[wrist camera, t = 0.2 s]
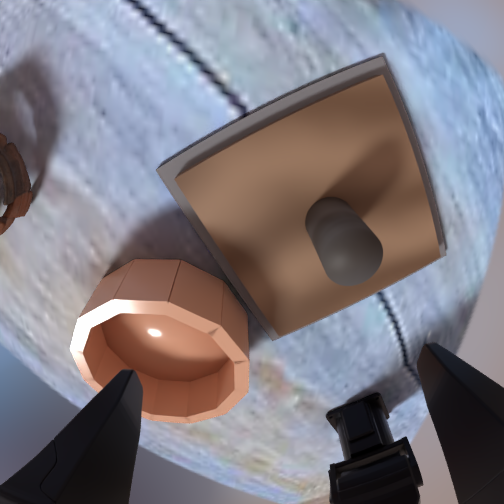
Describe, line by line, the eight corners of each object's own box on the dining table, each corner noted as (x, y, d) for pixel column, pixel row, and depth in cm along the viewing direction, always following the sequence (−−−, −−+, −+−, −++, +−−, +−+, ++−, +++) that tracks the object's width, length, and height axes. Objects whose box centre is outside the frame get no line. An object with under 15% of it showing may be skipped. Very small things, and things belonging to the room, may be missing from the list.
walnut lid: (434, 250, 23) (475, 293, 17) (278, 328, 25) (286, 386, 20) (376, 75, 17) (425, 72, 11) (177, 175, 19) (153, 207, 14)
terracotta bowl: (274, 350, 27) (280, 396, 22) (157, 392, 29) (149, 432, 25) (187, 228, 21) (174, 265, 17) (66, 300, 24) (42, 338, 20)
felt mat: (444, 252, 23) (446, 255, 23) (271, 337, 26) (272, 341, 26) (379, 56, 16) (382, 56, 16) (157, 168, 19) (155, 170, 19)
